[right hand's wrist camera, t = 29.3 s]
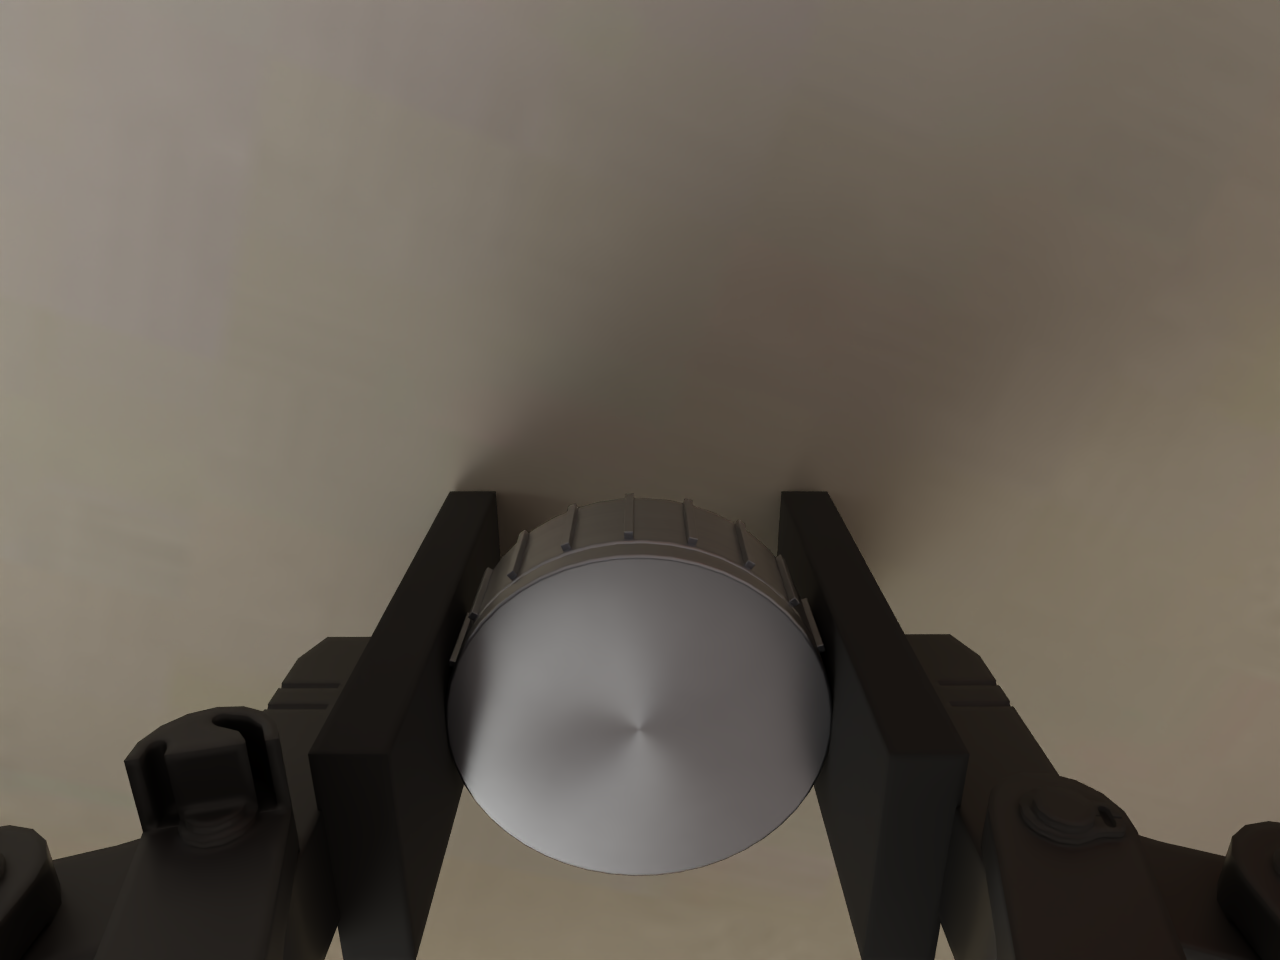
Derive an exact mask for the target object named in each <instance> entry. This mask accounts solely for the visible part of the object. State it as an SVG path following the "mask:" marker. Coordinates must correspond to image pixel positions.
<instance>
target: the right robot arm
mask: <svg viewBox="0 0 1280 960" xmlns="http://www.w3.org/2000/svg"><path fill="white" fill-rule="evenodd" d="M780 554H781V555H782V557H783V558H784V559H785V561H786V564H787V567H788V570H789V573H790V576H791V579H792V581H793V583H794V585H795V587H796V589H797V592H798V594H799V596H800V598H801V599H804V598H807V599H808V602H809V605H810V608H811V610H812V613H813V616H814V619H815V622H816V624H817V627H818V630H819V633H820V635H821V638H822V641H823V644H824V647H825V649H826V651H825V652H822V653H820V655H821V658H822V661H823V664H824V667H825V670H826V673H827V677H828V681H829V685H830V688H831V695H832V705H833V717H832V729H831V738H830V744H829V749H828V753H827V756H826V758H825V761H824V764H823V766H822V769H821V772H820V774H819V776H818V778H817V779H816V781H815V783H814V788H815V791H816V795H817V799H818V802H819V806H820V810H821V813H822V817H823V821H824V824H825V828H826V832H827V835H828V839H829V842H830V846H831V850H832V853H833V857H834V861H835V864H836V868H837V872H838V875H839V879H840V882H841V886H842V890H843V893H844V897H845V901H846V904H847V908H848V912H849V915H850V919H851V922H852V926H853V930H854V933H855V937H856V941H857V944H858V948H859V952H860V955H861V959H862V960H934V958H935V952H936V947H937V941H938V935H939V929H940V923H941V925H942V928H943V930H944V933H945V935H946V938H947V941H948V943H949V946H950V948H951V951H952V953H953V956H954V959H955V960H1280V823H1278V822H1271V821H1267V822H1261V823H1255V824H1249V825H1245V826H1244V827H1243V828H1241V829H1240V830H1239V831H1238V832H1237V833H1236V834H1235V835H1233V836H1232V839H1231V842H1230V845H1229V849H1228V852H1227V855H1226V856H1221V855H1217V854H1213V853H1208V852H1204V851H1199V850H1195V849H1190V848H1186V847H1182V846H1177V845H1173V844H1168V843H1164V842H1160V841H1156V840H1153V839H1150V838H1146V837H1143V836H1140V835H1138V832H1137V830H1136V829H1135V827H1134V825H1133V824H1132V822H1131V821H1130V819H1129V818H1128V816H1127V815H1126V813H1125V812H1124V811H1123V810H1122V809H1121V808H1120V807H1118V806H1117V805H1116V804H1115V803H1113V802H1112V801H1111V800H1110V799H1109V798H1107V797H1106V796H1105V795H1104V794H1102V793H1100V792H1098V791H1096V790H1094V789H1092V788H1090V787H1088V786H1086V785H1084V784H1082V783H1080V782H1078V781H1076V780H1073V779H1069V778H1065V777H1062V776H1059V774H1058V773H1057V771H1056V770H1055V768H1054V767H1053V765H1052V764H1051V762H1050V761H1049V759H1048V758H1047V756H1046V755H1045V753H1044V752H1043V750H1042V749H1041V747H1040V746H1039V744H1038V743H1037V741H1036V740H1035V738H1034V737H1033V735H1032V734H1031V732H1030V731H1029V729H1028V728H1027V726H1026V725H1025V723H1024V722H1023V720H1022V719H1021V717H1020V716H1019V714H1018V713H1017V711H1016V710H1015V708H1014V707H1013V706H1010V701H1009V699H1008V698H1007V696H1006V695H1005V693H1004V692H1003V690H1002V689H1001V687H1000V686H999V685H996V680H995V678H994V677H993V675H992V674H991V672H990V671H989V669H988V668H987V666H986V665H985V663H984V662H983V660H982V659H981V657H980V656H979V655H978V654H976V653H975V652H974V651H972V650H971V649H970V648H968V647H967V646H965V645H964V644H963V643H961V642H960V641H958V640H957V639H956V638H954V637H953V636H952V635H950V634H904V632H903V630H902V629H901V627H900V625H899V623H898V621H897V619H896V617H895V616H894V614H893V612H892V610H891V608H890V606H889V605H888V603H887V601H886V599H885V597H884V595H883V593H882V592H881V590H880V588H879V586H878V584H877V582H876V581H875V579H874V577H873V575H872V573H871V571H870V570H869V568H868V566H867V564H866V562H865V560H864V558H863V557H862V555H861V553H860V551H859V549H858V547H857V546H856V544H855V542H854V540H853V538H852V536H851V535H850V533H849V531H848V529H847V527H846V525H845V523H844V522H843V520H842V518H841V516H840V514H839V512H838V511H837V509H836V507H835V505H834V503H833V501H832V500H831V498H830V496H829V494H828V492H781V507H780V522H779V538H778V553H777V556H778V555H780ZM499 561H500V549H499V534H498V519H497V504H496V492H492V491H450V492H449V494H448V496H447V498H446V500H445V502H444V503H443V505H442V507H441V509H440V511H439V513H438V515H437V516H436V518H435V520H434V522H433V524H432V526H431V527H430V529H429V531H428V533H427V535H426V537H425V538H424V540H423V542H422V544H421V546H420V548H419V550H418V551H417V553H416V555H415V557H414V559H413V561H412V562H411V564H410V566H409V568H408V570H407V572H406V574H405V575H404V577H403V579H402V581H401V583H400V585H399V586H398V588H397V590H396V592H395V594H394V596H393V598H392V599H391V601H390V603H389V605H388V607H387V609H386V610H385V612H384V614H383V616H382V618H381V620H380V622H379V623H378V625H377V627H376V629H375V631H374V633H373V634H372V636H371V637H327V638H326V639H324V640H323V641H322V642H320V643H319V644H317V645H316V646H315V647H313V648H312V649H311V650H309V651H308V652H306V653H305V654H304V655H302V656H301V657H300V658H298V660H297V661H296V663H295V664H294V666H293V667H292V669H291V670H290V672H289V673H288V675H287V676H286V678H285V679H284V681H283V682H282V688H278V690H277V691H276V693H275V694H274V696H273V697H272V699H271V700H270V702H269V703H268V709H265V710H264V711H259V710H256V709H252V708H248V707H244V706H239V707H215V708H211V709H207V710H203V711H199V712H194V713H190V714H187V715H185V716H183V717H180V718H178V719H176V720H174V721H171V722H169V723H167V724H164V725H162V726H160V727H159V728H157V729H156V730H155V731H153V732H152V733H151V734H149V735H148V736H146V737H145V738H144V739H142V740H141V741H139V742H138V743H137V744H136V746H135V747H134V748H133V750H132V751H131V752H130V754H129V755H128V756H127V758H126V759H125V760H124V763H125V767H126V771H127V774H128V778H129V782H130V785H131V789H132V793H133V796H134V800H135V804H136V808H137V811H138V815H139V819H140V822H141V826H142V830H143V834H142V836H141V838H140V839H137V840H134V841H130V842H127V843H124V844H120V845H117V846H113V847H108V848H104V849H100V850H95V851H91V852H86V853H82V854H78V855H73V856H69V857H65V858H60V859H56V860H52V858H51V855H50V852H49V848H48V845H47V842H46V840H45V839H44V838H42V837H41V836H40V835H39V834H38V833H37V832H36V831H34V830H33V829H29V828H23V827H17V826H11V825H8V826H1V827H0V960H324V959H325V957H326V954H327V952H328V949H329V946H330V944H331V941H332V939H333V936H334V933H335V931H336V928H337V926H338V931H339V937H340V942H341V948H342V954H343V960H416V957H417V954H418V950H419V946H420V943H421V939H422V936H423V932H424V928H425V925H426V921H427V917H428V914H429V910H430V906H431V903H432V899H433V895H434V892H435V888H436V884H437V881H438V877H439V873H440V870H441V866H442V862H443V859H444V855H445V852H446V848H447V844H448V841H449V837H450V833H451V830H452V826H453V822H454V819H455V815H456V811H457V808H458V804H459V800H460V797H461V793H462V789H463V786H464V783H463V781H462V779H461V777H460V775H459V773H458V771H457V768H456V766H455V764H454V761H453V758H452V754H451V751H450V748H449V745H448V738H447V731H446V721H445V701H446V695H447V689H448V684H449V679H450V676H451V673H452V670H453V668H451V667H450V666H449V660H450V657H451V655H452V652H453V649H454V646H455V644H456V641H457V638H458V636H459V633H460V630H461V628H462V625H463V622H464V619H465V617H466V614H467V612H468V613H470V610H471V607H472V605H473V602H474V599H475V596H476V594H477V591H478V588H479V585H480V583H481V580H482V577H483V574H484V572H485V571H486V569H487V568H488V567H489V568H490V569H492V570H493V569H494V568H495V567H496V565H497V564H498V562H499Z"/></svg>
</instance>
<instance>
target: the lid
mask: <svg viewBox="0 0 1280 960" xmlns="http://www.w3.org/2000/svg"><path fill="white" fill-rule="evenodd" d="M825 651H826V649H825V647H824V644H823V641H822V638H821V635H820V633H819V630H818V627H817V624H816V622H815V619H814V616H813V613H812V610H811V608H810V605H809V602H808V599H807V598H804V599H801V598H800V596H799V594H798V592H797V589H796V587H795V585H794V583H793V581H792V579H791V576H790V573H789V570H788V567H787V564H786V561H785V559H784V558H783V557H782V555H781V554H780V555H778V556H777V557H775V556H774V555H773V554H772V553H771V551H770V550H769V549H768V548H766V547H765V546H764V545H763V544H762V543H761V542H760V541H759V540H757V539H756V538H755V537H754V536H753V535H751V534H750V533H748V532H747V530H746V527H745V523H743V522H742V521H740V520H738V521H737V522H736V523H733V522H731V521H729V520H727V519H725V518H723V517H721V516H719V515H717V514H715V513H713V512H710V511H707V510H704V509H701V508H698V507H695V506H693V501H692V500H689V499H684V502H683V503H679V502H674V501H670V500H661V499H649V498H634V494H633V493H632V494H626V496H625V499H617V500H610V501H604V502H597V503H594V504H590V505H587V506H583V507H580V508H578V507H577V505H576V504H573V505H570V506H568V511H567V512H566V513H564V514H561V515H559V516H557V517H554V518H552V519H551V520H549V521H547V522H546V523H544V524H542V525H540V526H539V527H537V528H535V529H534V530H532V531H531V532H530V533H528V532H527V531H526V530H523V531H522V532H521V533H520V534H519V537H518V540H517V543H516V544H515V545H514V546H513V547H512V548H511V549H510V550H509V551H508V552H507V553H506V554H505V555H504V556H503V557H502V558H501V560H500V561H499V562H498V564H497V565H496V567H495V568H494V569H493V570H492V569H490V568H489V567H488V568H487V569H486V571H485V572H484V574H483V577H482V580H481V583H480V585H479V588H478V591H477V594H476V596H475V599H474V602H473V605H472V607H471V610H470V613H468V612H467V614H466V617H465V619H464V622H463V625H462V628H461V630H460V633H459V636H458V638H457V641H456V644H455V646H454V649H453V652H452V655H451V657H450V660H449V666H450V667H451V668H453V670H452V673H451V676H450V679H449V684H448V689H447V695H446V701H445V721H446V731H447V738H448V745H449V748H450V751H451V754H452V758H453V761H454V764H455V766H456V768H457V771H458V773H459V775H460V777H461V779H462V781H463V783H464V785H465V786H466V788H467V789H468V791H469V792H470V794H471V795H472V797H473V798H474V800H475V801H476V802H477V804H478V805H479V806H480V807H481V808H482V809H483V810H484V812H485V813H486V814H487V815H488V816H489V817H490V818H491V819H492V820H493V821H494V822H495V823H496V824H498V825H499V826H500V827H501V828H502V829H503V830H504V831H506V832H507V833H508V834H510V835H511V836H513V837H514V838H516V839H517V840H518V841H520V842H521V843H523V844H524V845H526V846H528V847H530V848H532V849H534V850H535V851H537V852H539V853H541V854H543V855H545V856H547V857H550V858H552V859H555V860H557V861H560V862H562V863H565V864H568V865H572V866H575V867H579V868H582V869H586V870H590V871H596V872H602V873H607V874H616V875H630V876H645V875H663V874H670V873H678V872H683V871H688V870H692V869H696V868H701V867H704V866H707V865H710V864H713V863H716V862H719V861H722V860H725V859H727V858H729V857H731V856H733V855H735V854H737V853H739V852H742V851H744V850H746V849H747V848H749V847H751V846H752V845H754V844H755V843H757V842H759V841H760V840H762V839H764V838H765V837H766V836H767V835H769V834H770V833H771V832H773V831H774V830H775V829H776V828H778V827H779V826H780V825H781V824H782V823H783V822H784V821H785V820H786V819H787V818H788V817H789V816H790V815H791V814H792V813H793V812H794V811H795V810H796V809H797V808H798V807H799V805H800V804H801V803H802V801H803V800H804V799H805V797H806V796H807V795H808V793H809V792H810V790H811V788H812V787H813V785H814V783H815V781H816V779H817V778H818V776H819V774H820V772H821V769H822V766H823V764H824V761H825V758H826V756H827V753H828V749H829V744H830V738H831V729H832V717H833V705H832V695H831V688H830V685H829V681H828V677H827V673H826V670H825V667H824V664H823V661H822V658H821V655H820V653H822V652H825Z"/></svg>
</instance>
